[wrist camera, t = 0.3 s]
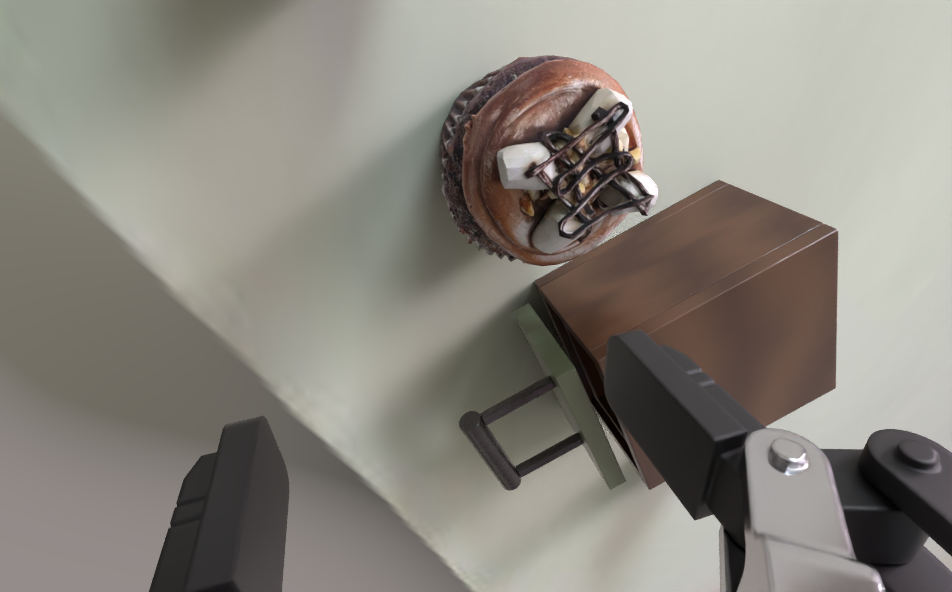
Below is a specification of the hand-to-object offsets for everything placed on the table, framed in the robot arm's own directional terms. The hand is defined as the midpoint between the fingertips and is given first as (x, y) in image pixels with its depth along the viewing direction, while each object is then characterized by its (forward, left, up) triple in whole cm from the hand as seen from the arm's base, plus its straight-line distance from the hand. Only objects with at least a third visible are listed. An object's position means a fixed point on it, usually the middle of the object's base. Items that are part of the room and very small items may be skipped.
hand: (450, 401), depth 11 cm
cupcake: (-1, +7, -18) cm, 19 cm away
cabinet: (+12, +17, -17) cm, 27 cm away
